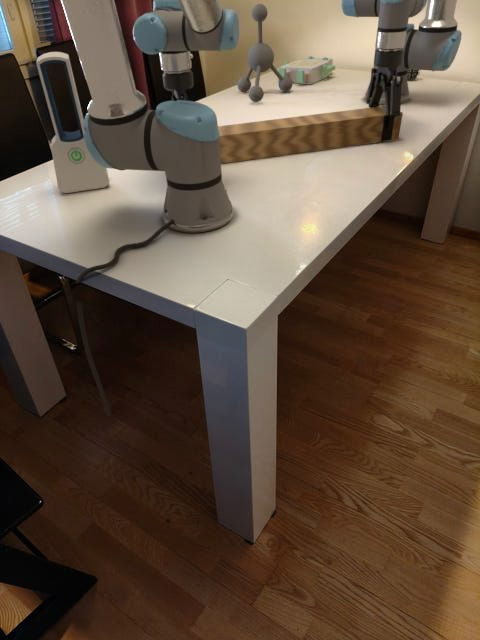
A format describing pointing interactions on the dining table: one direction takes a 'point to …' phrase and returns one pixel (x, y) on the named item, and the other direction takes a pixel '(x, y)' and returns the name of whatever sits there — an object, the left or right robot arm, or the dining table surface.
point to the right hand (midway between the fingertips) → (379, 135)
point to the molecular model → (261, 61)
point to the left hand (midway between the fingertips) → (187, 160)
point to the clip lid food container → (307, 70)
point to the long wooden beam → (303, 134)
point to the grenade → (412, 74)
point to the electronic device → (70, 137)
